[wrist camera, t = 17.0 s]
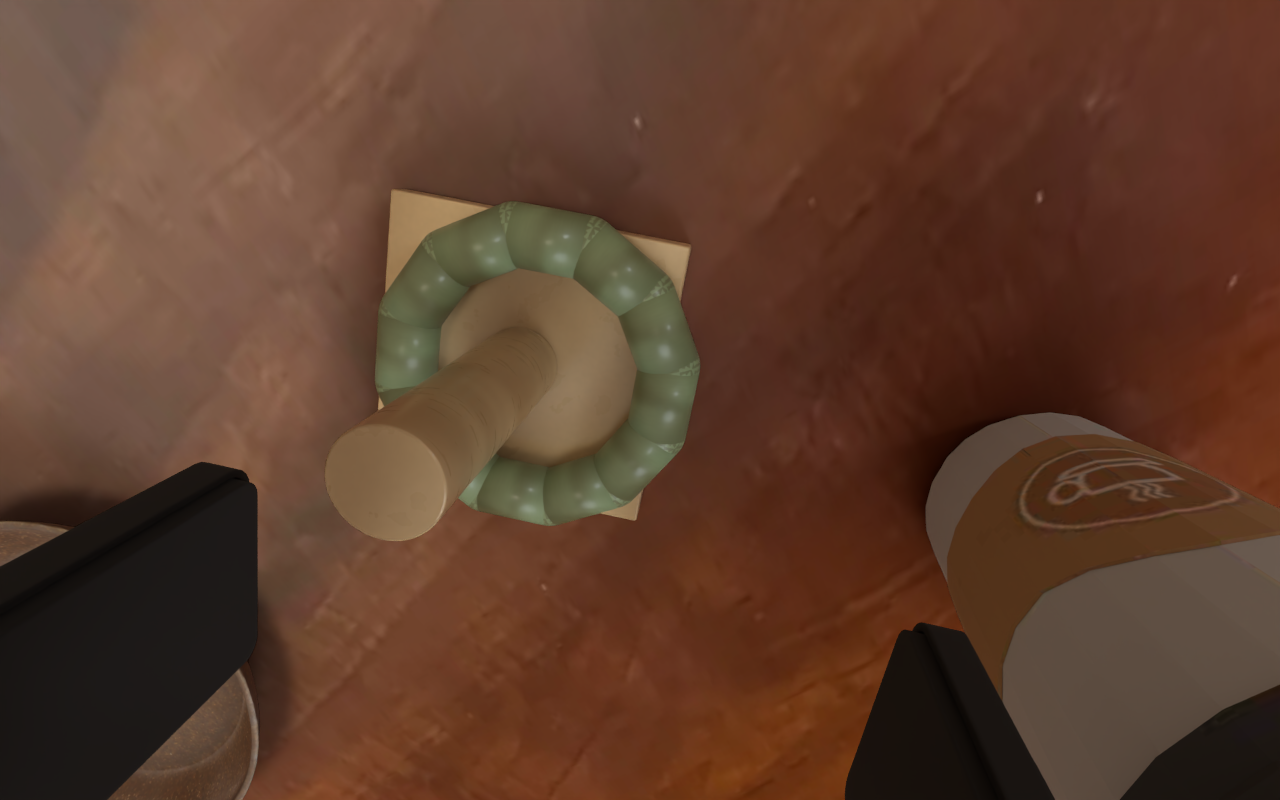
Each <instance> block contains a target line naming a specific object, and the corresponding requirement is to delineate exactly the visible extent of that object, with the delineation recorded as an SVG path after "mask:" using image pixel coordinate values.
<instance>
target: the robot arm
mask: <svg viewBox="0 0 1280 800" xmlns="http://www.w3.org/2000/svg"><path fill="white" fill-rule="evenodd" d="M256 641H257V489H256V487H255V485H254V484H252V483H250V482H249V478H248V476H247V474H246V473H245V472H243V471H242V470H238V469H234V468H229V467H225V466H220V465H216V464H211V463H206V462H200V463H197V464H194V465H192V466H190V467H189V468H187V469H185V470H183V471H181V472H179V473H177V474H175V475H173V476H171V477H169V478H168V479H166V480H164V481H162V482H160V483H158V484H156V485H154V486H152V487H150V488H149V489H147V490H145V491H143V492H141V493H139V494H137V495H135V496H133V497H131V498H130V499H128V500H126V501H124V502H122V503H120V504H118V505H116V506H114V507H112V508H110V509H109V510H107V511H105V512H103V513H101V514H99V515H97V516H95V517H93V518H91V519H90V520H88V521H86V522H84V523H82V524H80V525H78V526H76V527H74V528H72V529H71V530H69V531H67V532H65V533H63V534H61V535H59V536H57V537H55V538H53V539H51V540H50V541H48V542H46V543H44V544H42V545H40V546H38V547H36V548H34V549H32V550H31V551H29V552H27V553H25V554H23V555H21V556H19V557H17V558H15V559H13V560H12V561H10V562H8V563H6V564H4V565H2V566H0V800H108V799H109V798H110V797H111V796H112V795H113V794H114V793H115V792H116V791H117V790H118V789H119V788H120V787H121V786H122V785H123V784H124V783H125V782H126V781H127V780H128V779H129V778H130V777H131V776H132V775H133V774H134V773H135V772H136V771H137V770H138V769H139V768H140V767H141V766H142V765H143V764H144V763H145V762H146V761H147V760H148V759H149V758H150V757H151V756H152V755H153V754H154V753H155V752H156V751H157V750H158V749H159V748H160V747H161V746H162V745H163V744H164V743H165V742H166V741H167V740H168V739H169V738H170V737H171V736H172V735H173V734H174V733H175V732H176V731H177V730H178V729H179V728H180V727H181V726H182V725H183V724H184V723H185V722H186V721H187V720H188V719H189V718H190V717H191V716H192V715H193V714H194V713H195V712H196V711H197V710H198V709H199V708H200V707H201V706H202V705H203V704H204V703H205V702H206V701H207V700H208V699H209V698H210V697H211V696H212V695H213V694H214V693H215V692H216V691H217V690H218V689H219V688H220V687H221V686H222V685H223V684H224V683H225V682H226V681H227V680H228V679H229V678H230V677H231V676H232V675H233V674H234V673H235V672H236V671H237V670H238V669H239V668H240V667H241V666H242V665H243V664H244V663H245V662H246V661H247V660H248V659H249V657H250V655H251V654H252V652H253V650H254V647H255V645H256ZM845 800H1055V798H1054V796H1053V795H1052V793H1051V791H1050V789H1049V787H1048V785H1047V783H1046V781H1045V780H1044V778H1043V776H1042V774H1041V772H1040V770H1039V768H1038V766H1037V765H1036V763H1035V762H1034V760H1033V758H1032V756H1031V754H1030V753H1029V751H1028V749H1027V747H1026V745H1025V743H1024V741H1023V739H1022V738H1021V736H1020V734H1019V732H1018V730H1017V728H1016V726H1015V724H1014V723H1013V721H1012V719H1011V717H1010V715H1009V713H1008V711H1007V709H1006V708H1005V706H1004V704H1003V702H1002V700H1001V698H1000V696H999V694H998V693H997V691H996V689H995V687H994V685H993V683H992V681H991V679H990V678H989V676H988V674H987V672H986V670H985V668H984V666H983V664H982V663H981V661H980V659H979V657H978V655H977V653H976V651H975V649H974V648H973V646H972V644H971V642H970V640H969V638H968V637H967V635H966V634H965V633H964V632H961V631H957V630H953V629H949V628H944V627H940V626H935V625H931V624H926V623H922V622H921V623H918V624H917V625H916V626H915V627H914V628H913V631H908V630H903V631H901V633H900V634H899V636H898V638H897V640H896V643H895V646H894V649H893V652H892V654H891V657H890V660H889V663H888V666H887V668H886V671H885V674H884V677H883V679H882V682H881V685H880V688H879V691H878V693H877V696H876V699H875V702H874V705H873V707H872V710H871V713H870V716H869V719H868V721H867V724H866V727H865V730H864V732H863V735H862V738H861V741H860V744H859V746H858V749H857V752H856V755H855V758H854V760H853V763H852V766H851V769H850V771H849V774H848V778H847V781H846V788H845Z"/></svg>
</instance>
